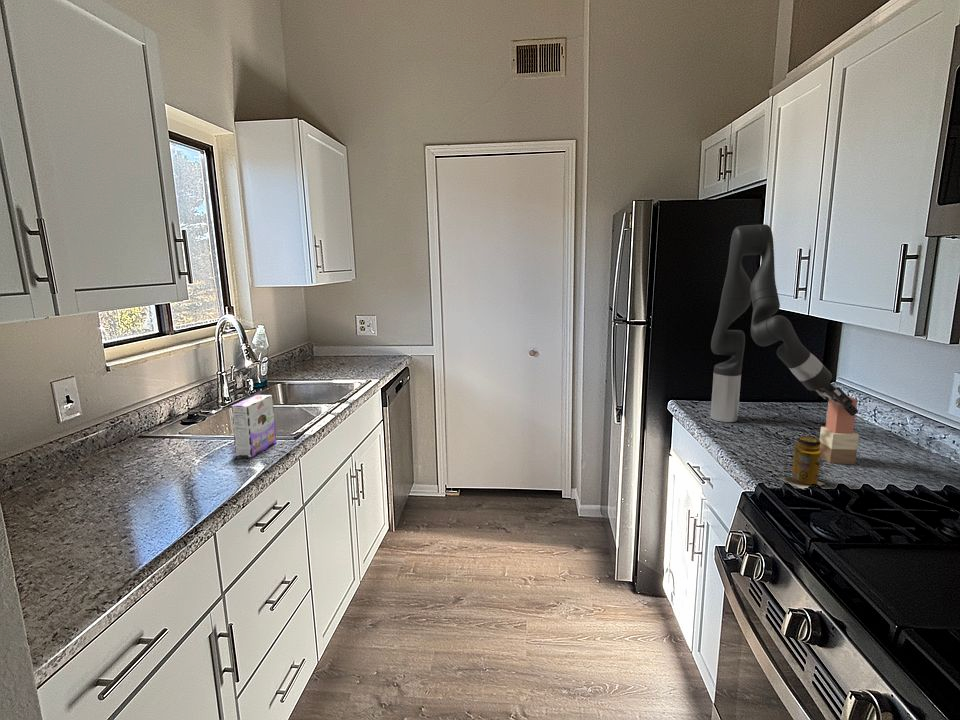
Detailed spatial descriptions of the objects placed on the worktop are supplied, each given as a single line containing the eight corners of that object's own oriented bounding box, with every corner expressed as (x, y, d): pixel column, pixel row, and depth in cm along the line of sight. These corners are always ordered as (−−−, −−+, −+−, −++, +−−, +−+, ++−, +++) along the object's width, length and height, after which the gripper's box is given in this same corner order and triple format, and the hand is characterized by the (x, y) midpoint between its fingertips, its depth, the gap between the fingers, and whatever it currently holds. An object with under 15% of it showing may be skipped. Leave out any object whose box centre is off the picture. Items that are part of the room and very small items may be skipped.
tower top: (819, 441, 164) (820, 426, 164) (844, 441, 164) (845, 427, 163) (831, 449, 158) (833, 434, 157) (857, 449, 157) (859, 434, 156)
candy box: (261, 441, 181) (257, 393, 178) (277, 442, 180) (273, 394, 177) (234, 456, 168) (229, 404, 165) (251, 457, 167) (247, 405, 164)
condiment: (825, 484, 144) (830, 441, 142) (803, 490, 141) (808, 445, 138) (799, 474, 151) (803, 433, 148) (778, 479, 147) (782, 437, 145)
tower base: (817, 455, 165) (818, 441, 164) (841, 455, 165) (843, 441, 164) (829, 463, 158) (831, 449, 157) (855, 464, 158) (857, 449, 157)
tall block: (825, 427, 163) (829, 395, 161) (843, 427, 162) (846, 395, 160) (835, 432, 158) (839, 399, 156) (853, 433, 157) (857, 399, 155)
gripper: (833, 366, 150) (872, 407, 151) (807, 357, 164) (843, 394, 165) (811, 385, 151) (850, 425, 152) (787, 374, 165) (822, 411, 166)
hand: (846, 409), depth 159 cm, fingers open, 8 cm apart
